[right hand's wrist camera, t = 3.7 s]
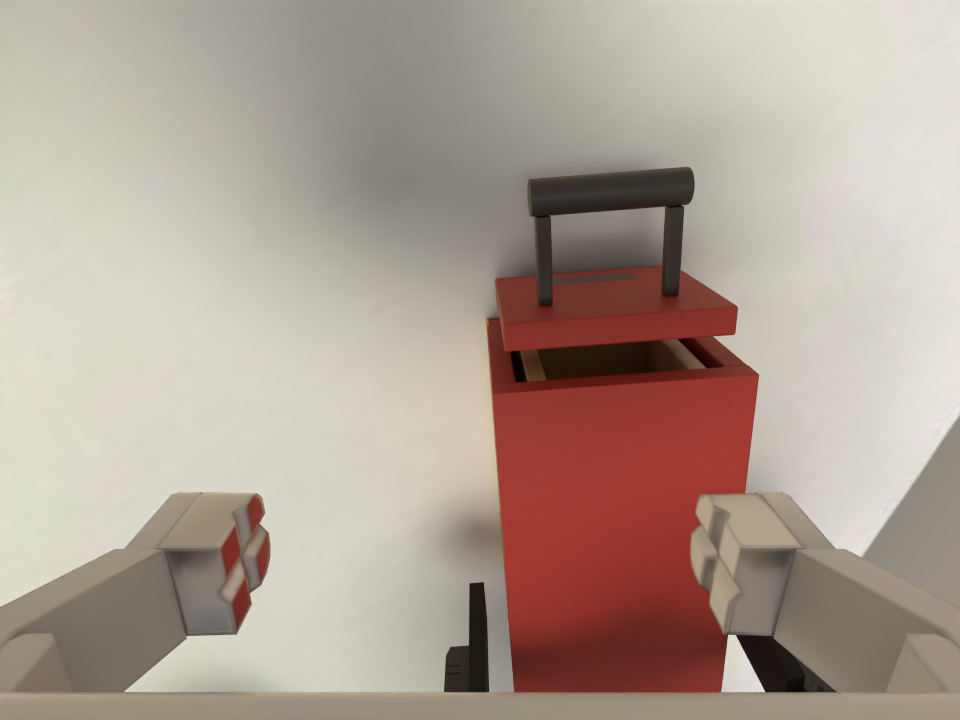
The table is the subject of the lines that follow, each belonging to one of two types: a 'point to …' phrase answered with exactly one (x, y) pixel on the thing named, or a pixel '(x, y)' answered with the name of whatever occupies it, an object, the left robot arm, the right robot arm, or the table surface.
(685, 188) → the drawer
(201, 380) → the table surface
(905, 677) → the right robot arm
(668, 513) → the red drawer cabinet
